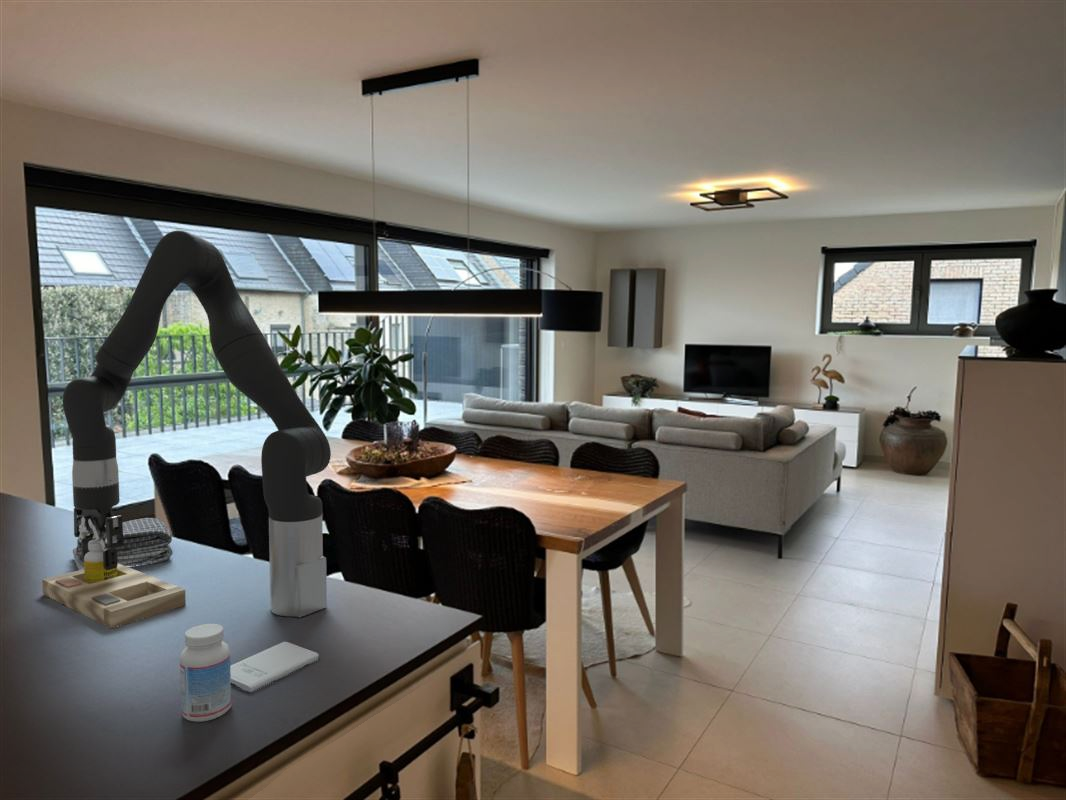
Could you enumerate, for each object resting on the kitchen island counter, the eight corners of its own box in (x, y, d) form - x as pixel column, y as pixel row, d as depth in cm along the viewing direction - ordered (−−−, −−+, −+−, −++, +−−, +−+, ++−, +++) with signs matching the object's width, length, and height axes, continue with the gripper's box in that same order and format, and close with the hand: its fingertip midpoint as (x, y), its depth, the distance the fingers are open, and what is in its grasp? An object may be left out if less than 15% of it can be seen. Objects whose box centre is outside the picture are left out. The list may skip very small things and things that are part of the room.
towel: (175, 562, 157) (174, 527, 156) (75, 577, 146) (73, 540, 145) (165, 544, 169) (163, 512, 168) (72, 557, 159) (70, 522, 158)
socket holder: (185, 605, 132) (185, 587, 132) (111, 628, 121) (111, 610, 121) (114, 576, 147) (114, 560, 146) (43, 594, 136) (42, 577, 136)
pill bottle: (241, 704, 98) (239, 625, 97) (207, 727, 92) (205, 643, 91) (206, 696, 100) (203, 618, 99) (170, 718, 94) (168, 635, 93)
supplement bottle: (106, 596, 136) (105, 545, 135) (78, 595, 136) (76, 544, 135) (123, 585, 141) (122, 537, 140) (96, 585, 141) (94, 536, 140)
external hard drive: (319, 663, 112) (250, 697, 101) (283, 650, 116) (214, 681, 105) (319, 653, 112) (250, 686, 101) (283, 640, 116) (214, 670, 105)
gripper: (135, 483, 136) (138, 566, 137) (98, 473, 144) (101, 552, 145) (93, 490, 130) (96, 577, 131) (57, 479, 137) (60, 562, 139)
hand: (99, 564), depth 138 cm, fingers open, 8 cm apart
